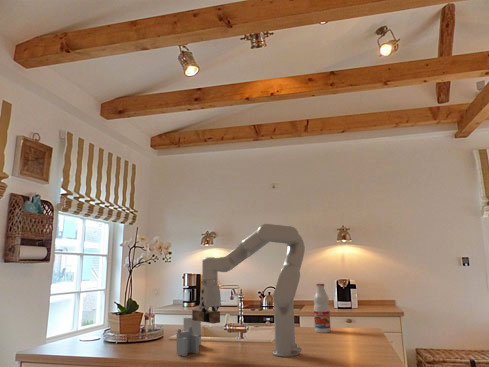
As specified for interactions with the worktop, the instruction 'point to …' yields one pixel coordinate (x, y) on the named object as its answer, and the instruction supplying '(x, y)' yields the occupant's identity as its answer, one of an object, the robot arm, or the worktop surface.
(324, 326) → the fruit juice
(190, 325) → the skincare box
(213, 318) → the wooden block
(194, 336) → the grey stepped block
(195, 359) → the worktop surface
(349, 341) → the worktop surface
